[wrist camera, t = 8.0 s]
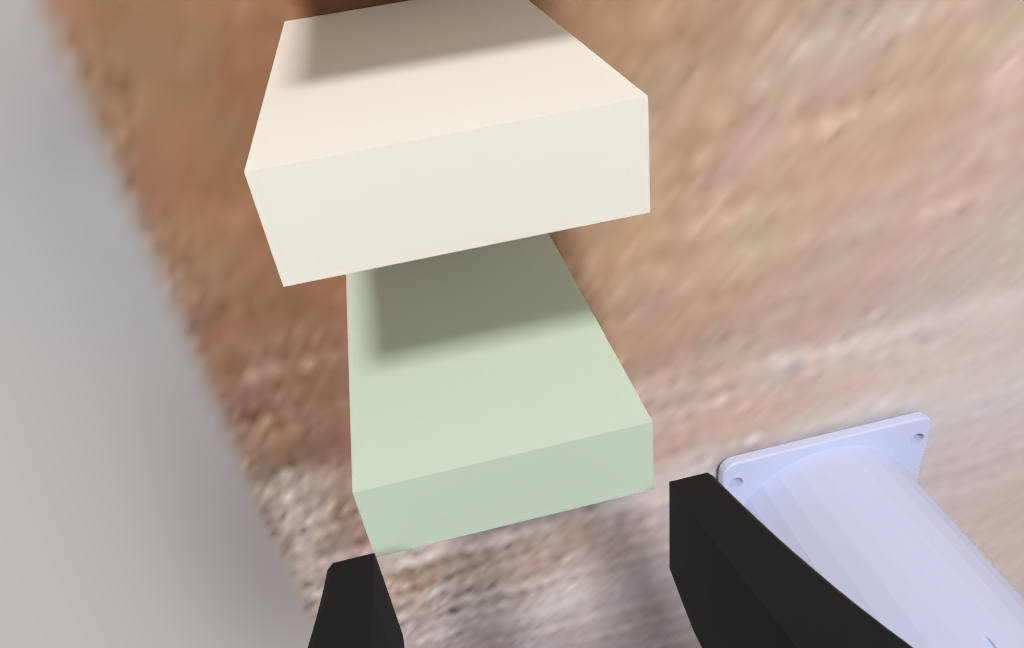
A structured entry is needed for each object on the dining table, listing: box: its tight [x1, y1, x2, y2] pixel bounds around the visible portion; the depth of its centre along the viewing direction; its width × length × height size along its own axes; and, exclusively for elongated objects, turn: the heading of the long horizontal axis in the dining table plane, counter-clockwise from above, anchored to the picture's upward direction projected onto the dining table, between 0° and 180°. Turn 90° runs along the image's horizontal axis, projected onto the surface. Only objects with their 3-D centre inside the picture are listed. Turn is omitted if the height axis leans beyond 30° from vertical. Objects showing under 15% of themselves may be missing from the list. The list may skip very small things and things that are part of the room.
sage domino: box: [346, 233, 654, 557], centre depth 16 cm, size 2×5×9 cm, turn 98°
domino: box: [244, 0, 650, 287], centre depth 13 cm, size 2×5×9 cm, turn 98°
